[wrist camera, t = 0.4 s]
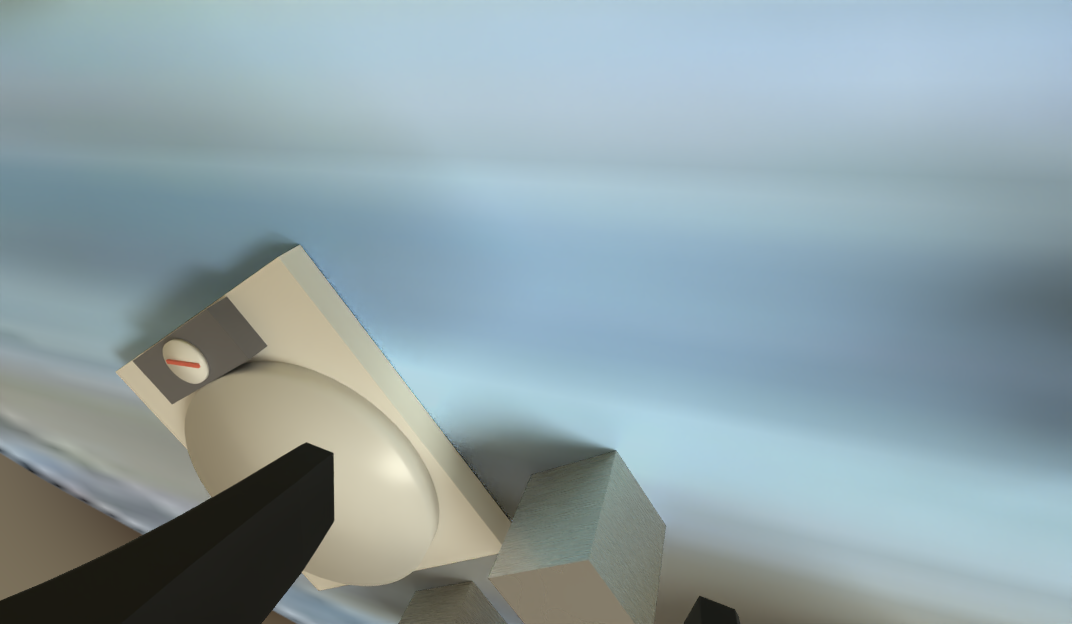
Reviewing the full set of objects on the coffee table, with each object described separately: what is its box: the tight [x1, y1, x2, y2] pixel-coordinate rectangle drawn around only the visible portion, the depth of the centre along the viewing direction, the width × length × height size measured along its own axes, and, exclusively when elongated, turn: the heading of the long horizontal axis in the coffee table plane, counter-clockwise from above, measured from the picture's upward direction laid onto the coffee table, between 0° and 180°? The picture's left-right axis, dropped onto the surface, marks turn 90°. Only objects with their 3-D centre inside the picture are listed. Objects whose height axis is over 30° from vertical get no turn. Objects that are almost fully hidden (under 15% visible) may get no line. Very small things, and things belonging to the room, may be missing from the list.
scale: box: [116, 245, 511, 591], centre depth 25 cm, size 15×13×2 cm
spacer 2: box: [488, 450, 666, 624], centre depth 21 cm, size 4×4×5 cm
